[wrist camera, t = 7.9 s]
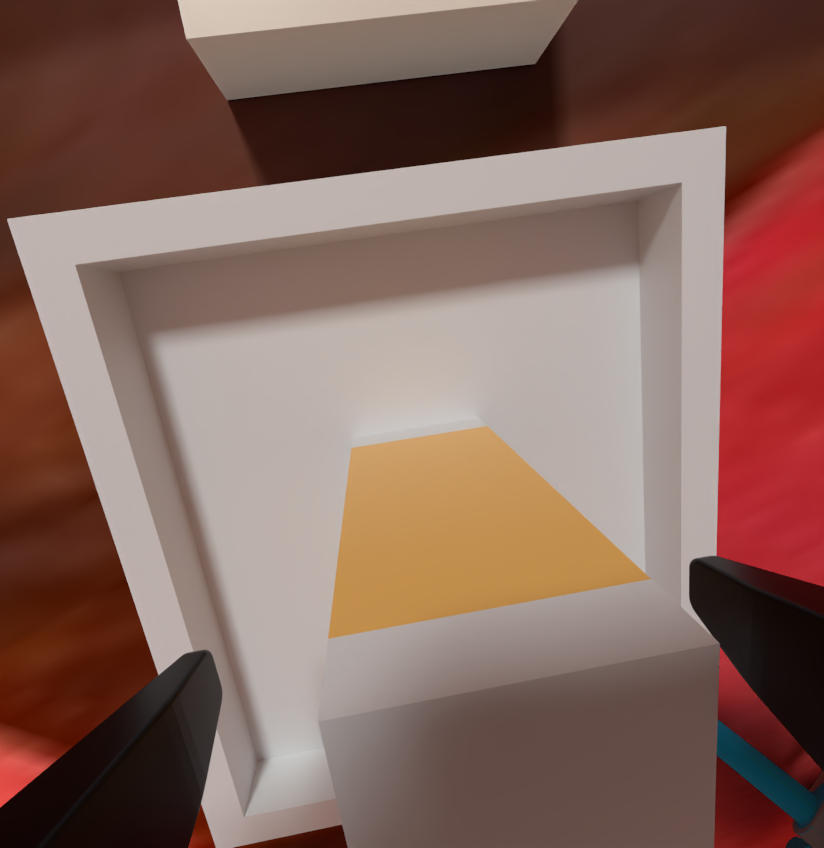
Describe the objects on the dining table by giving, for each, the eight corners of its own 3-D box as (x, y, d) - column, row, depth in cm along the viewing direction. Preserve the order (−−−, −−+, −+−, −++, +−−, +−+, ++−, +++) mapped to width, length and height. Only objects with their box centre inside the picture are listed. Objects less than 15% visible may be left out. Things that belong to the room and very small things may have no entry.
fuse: (478, 417, 13) (718, 643, 4) (495, 576, 14) (708, 1015, 5) (352, 437, 13) (318, 721, 4) (381, 597, 14) (404, 1090, 5)
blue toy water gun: (783, 935, 17) (901, 1255, 9) (634, 793, 21) (618, 931, 12) (948, 694, 17) (1220, 791, 9) (773, 590, 21) (853, 588, 12)
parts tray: (662, 159, 12) (725, 126, 10) (666, 689, 16) (711, 746, 14) (75, 236, 11) (6, 218, 9) (237, 776, 15) (217, 850, 13)
